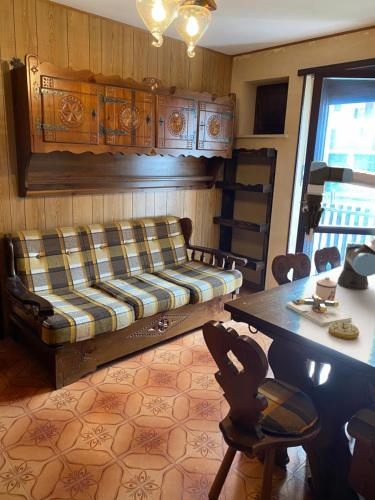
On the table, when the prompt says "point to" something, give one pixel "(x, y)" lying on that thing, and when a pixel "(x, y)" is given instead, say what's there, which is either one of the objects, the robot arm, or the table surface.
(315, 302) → the capstan
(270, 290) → the table surface
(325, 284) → the teacup with lid
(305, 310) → the level stand
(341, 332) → the olive yellow engraved disc
